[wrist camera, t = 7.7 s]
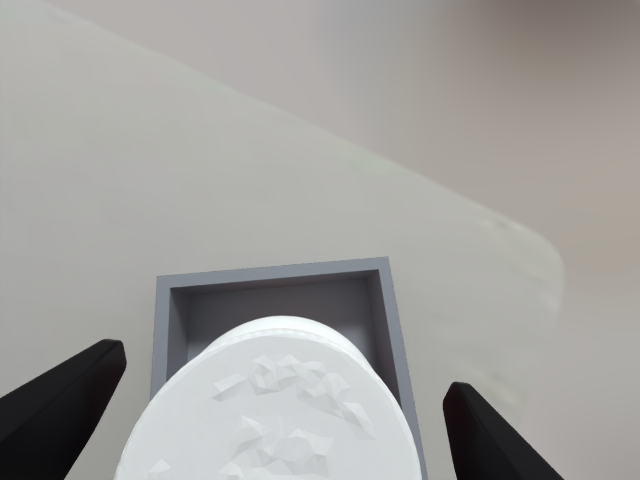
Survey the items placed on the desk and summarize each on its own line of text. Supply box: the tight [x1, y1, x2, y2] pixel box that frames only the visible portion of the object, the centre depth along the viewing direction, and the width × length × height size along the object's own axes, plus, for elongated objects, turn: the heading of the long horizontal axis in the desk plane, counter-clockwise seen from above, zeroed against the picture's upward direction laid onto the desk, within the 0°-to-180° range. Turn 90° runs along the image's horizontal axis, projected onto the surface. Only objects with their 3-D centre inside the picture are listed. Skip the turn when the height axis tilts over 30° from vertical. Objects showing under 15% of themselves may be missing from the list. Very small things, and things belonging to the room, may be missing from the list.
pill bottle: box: [114, 316, 422, 480], centre depth 10 cm, size 6×6×11 cm
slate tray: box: [150, 257, 428, 480], centre depth 15 cm, size 11×11×4 cm
